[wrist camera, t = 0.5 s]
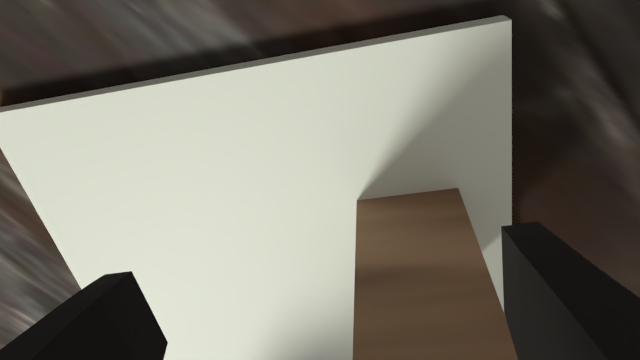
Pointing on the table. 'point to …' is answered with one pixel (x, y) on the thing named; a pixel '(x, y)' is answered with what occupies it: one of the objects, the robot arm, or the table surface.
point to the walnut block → (424, 283)
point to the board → (268, 179)
